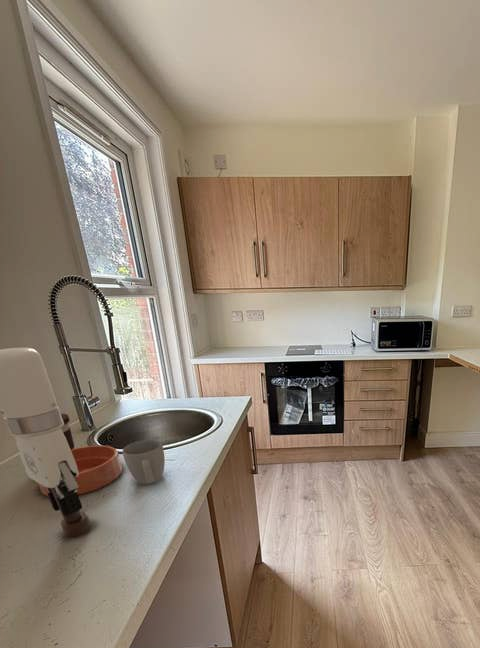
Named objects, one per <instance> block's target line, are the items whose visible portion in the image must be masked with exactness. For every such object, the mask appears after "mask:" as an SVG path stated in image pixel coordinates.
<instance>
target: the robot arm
mask: <svg viewBox="0 0 480 648" xmlns="http://www.w3.org/2000/svg"><path fill="white" fill-rule="evenodd" d="M43 360H44V359H42V356H41V354H40V353H39V352H38V351H37V350H36V349H34V348H31V347H10V348H1V349H0V412H1V415H2V417H3V420H4V422H5V425H6V427H7V429H8V432H9V435H10V436H11V437H13V438H14V440H15V444H16V446H17V447H16V448H17V450H18V453H19V456H20V459H21V462H22V465H23V467H24V470H25V473H26V475H27V477H28V478H29V479H31V480H32V481H34V482H36V483H37V484H38V483H40V484H42V485H44V487H45V489H46V491H47V492H49V493H47V494H48V496H47V497H48V499H49V501H50V504H51V507H52V509H53V510H54V511H55V512H58V511H60V509H59V506H60V508H61V511H62V513H61V515H62V514H63V515H64V516H68V515H70V514H72V513H74V512H76V511H78V510H80V511H81V510H83V505H82V502H81V499H80V496H79V495H78V493H77V489H76V488H78V484H77V482H76V480H75V479H74V478H77V477H78V475H79V472H78V468H77V465H76V462H75V459H74V457H73V454H72V452H71V449H70V447H69V444H68V442H67V440H66V438H65V436H64V433H63V431H62V429H61V427H62V426H63V425H64V422H63V419H62V416H61V413H62V412H61V410H60V407H59V405H58V401H57V400H56V396H55V394H54V393H55V392H54V390H53V387H52V384H51V381H50V378H49V375H48V372H47V369H46V366H45V364H44V361H43ZM60 412H61V413H60ZM62 478H63V479H62ZM63 484H66V486H64V487H62V489H61V487H60V486H61V485H63ZM54 487H55V490H56V492H57V495H58V497H59V498H57V501H58V503H59V506H58V504H57V502H56V500H55V497H54V495H53V493H52V491H51V488H54ZM50 491H51V492H50ZM61 511H60V512H61ZM63 515H62V516H63Z"/></svg>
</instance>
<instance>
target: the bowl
mask: <svg viewBox="0 0 480 648" xmlns="http://www.w3.org/2000/svg"><path fill="white" fill-rule="evenodd" d="M71 452H72V454H73V457H74V459H75V462H76V465H77V468H78V472H79V475H78V477H77V478H74V479H75V480H76V482H77V484H78V488H76V489H77V493H78V496H79V495H84V494H86V493H90V492H93V491H96V490H99V489H101V488H103V487H105V486H107V485H109V484H111V483H112V482H114V481H115V480H116V479H117V478H118V477H119V476H120V475H121V474H122V471H123V467H122V463H121V460H120V456H119V453H118V450H117V449H116V448H115V447H113V446H110V445H104V444H103V445H101V444H99V445H98V444H97V445H87V446H81V447H74V449H72V450H71ZM86 469H89V470H87V471H83V470H86ZM81 471H83V472H81ZM62 479H63V478H62ZM37 485H38V487H39V489H40V492H41V494H43V495H45V496H47V497H48V494H47V493H49V492H47V491H46V489H45V487H44V485H42V484H40V483H38V482H37ZM50 492H51V491H50Z"/></svg>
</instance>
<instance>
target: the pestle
mask: <svg viewBox="0 0 480 648" xmlns="http://www.w3.org/2000/svg"><path fill="white" fill-rule="evenodd" d="M64 486H66V484H63V485H61V486H60V487H61V489H62V487H64ZM51 491H52V493H53V495H54V497H55V500H56V502H57V504H58V506H59V503H58V501H57V498H59V497H58V495H57V492H56V490H55V487H54V488H51ZM59 509H60V510H59V511H60V514H61V515H62V519H61V521H60V526H61V528H62V530H63V533H64V535H65V537H67V538H77V537H80V536H82V535H84V534H87V533H88V532H89V531H90V530H91V529H92V524H91V521H90V519H89V517H88V513H86V512H85V511H81V509H80V510H78V511H76V512H74V513H72V514H70V515H68V516H64V515H63V514H62V511H61V508H60V506H59Z"/></svg>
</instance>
